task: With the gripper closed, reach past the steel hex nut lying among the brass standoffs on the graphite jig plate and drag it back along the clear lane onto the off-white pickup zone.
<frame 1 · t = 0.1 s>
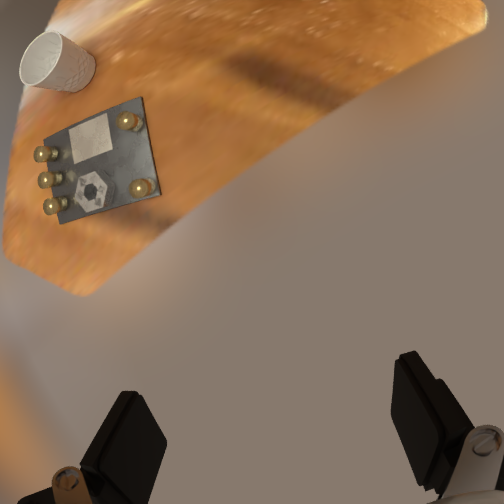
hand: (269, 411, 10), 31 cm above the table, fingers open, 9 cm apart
jig plate: (96, 163, 38), on the table
steel nut: (99, 190, 39), point 1 cm above the table, touching jig plate
white cup: (79, 72, 35), on the table
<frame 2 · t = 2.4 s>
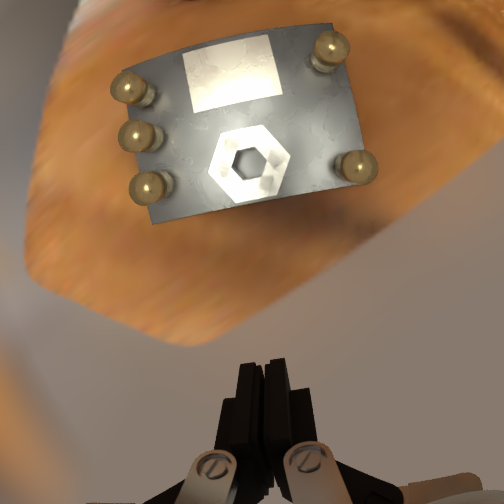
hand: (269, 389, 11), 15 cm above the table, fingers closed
jig plate: (241, 115, 22), on the table
steel nut: (251, 163, 23), point 1 cm above the table, touching jig plate
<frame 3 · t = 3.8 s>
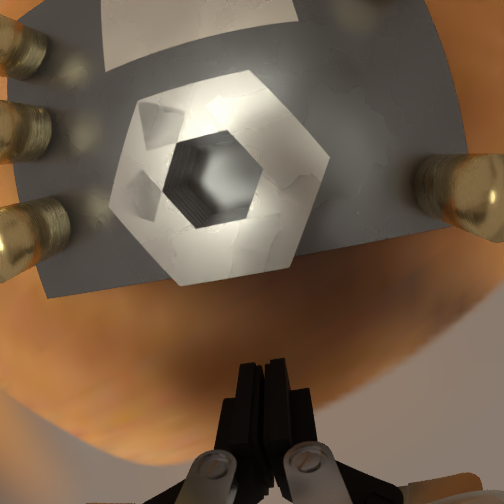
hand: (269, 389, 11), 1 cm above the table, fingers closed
jig plate: (204, 69, 9), on the table
steel nut: (224, 176, 10), point 1 cm above the table, touching jig plate
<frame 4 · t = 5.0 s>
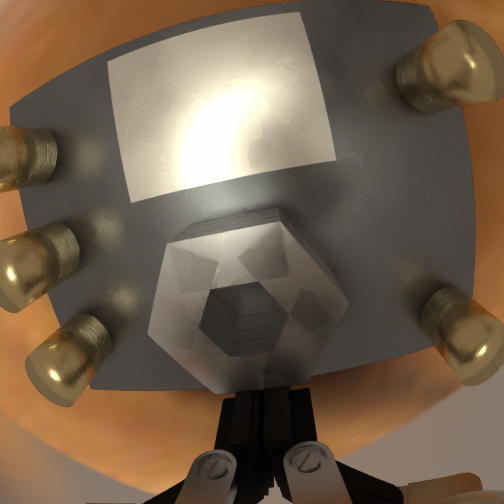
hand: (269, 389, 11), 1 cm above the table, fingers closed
jig plate: (236, 207, 10), on the table
steel nut: (248, 286, 11), point 1 cm above the table, touching gripper, jig plate
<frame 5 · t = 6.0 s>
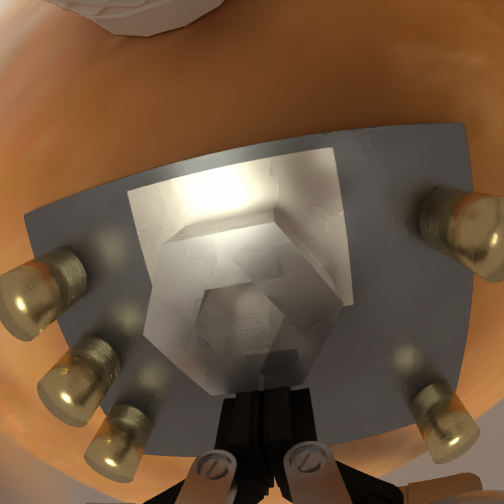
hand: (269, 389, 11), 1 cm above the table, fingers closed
jig plate: (263, 336, 12), on the table
steel nut: (244, 288, 11), point 1 cm above the table, touching gripper
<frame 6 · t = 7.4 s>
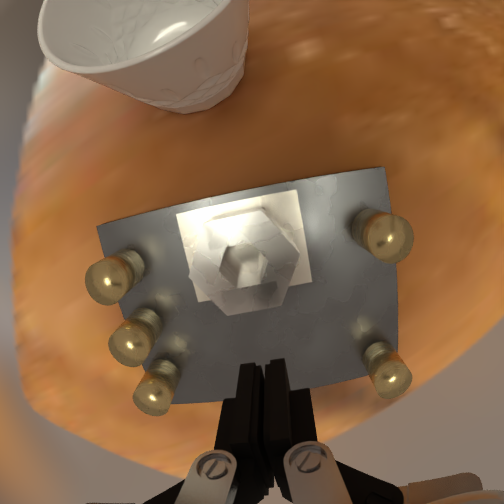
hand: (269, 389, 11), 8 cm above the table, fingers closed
jig plate: (257, 303, 19), on the table
steel nut: (245, 254, 18), point 1 cm above the table, touching jig plate
white cup: (191, 65, 16), on the table
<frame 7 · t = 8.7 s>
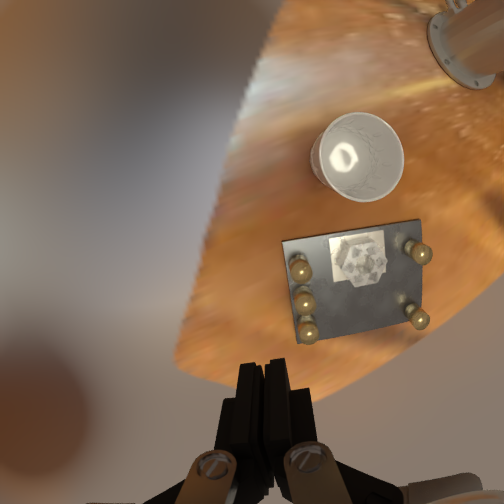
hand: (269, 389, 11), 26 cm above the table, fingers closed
jig plate: (359, 282, 37), on the table
steel nut: (359, 258, 36), point 1 cm above the table, touching jig plate
white cup: (337, 159, 34), on the table
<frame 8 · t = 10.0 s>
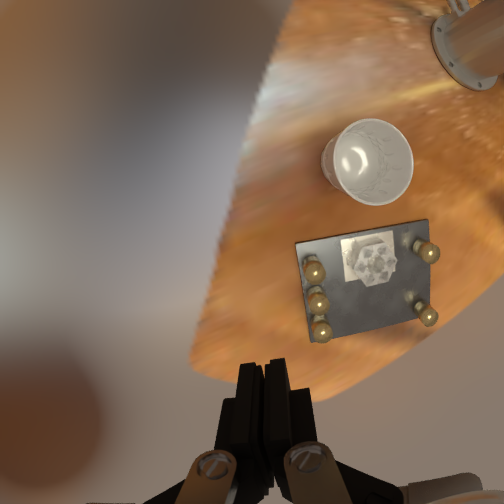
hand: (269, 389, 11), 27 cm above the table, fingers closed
jig plate: (370, 282, 38), on the table
steel nut: (369, 258, 36), point 1 cm above the table, touching jig plate
white cup: (347, 162, 34), on the table
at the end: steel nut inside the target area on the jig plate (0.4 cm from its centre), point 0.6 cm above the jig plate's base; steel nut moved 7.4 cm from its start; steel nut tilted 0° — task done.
